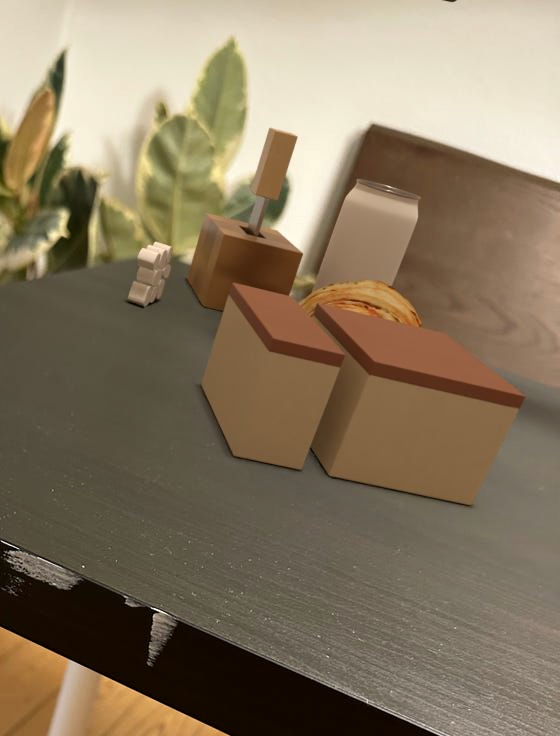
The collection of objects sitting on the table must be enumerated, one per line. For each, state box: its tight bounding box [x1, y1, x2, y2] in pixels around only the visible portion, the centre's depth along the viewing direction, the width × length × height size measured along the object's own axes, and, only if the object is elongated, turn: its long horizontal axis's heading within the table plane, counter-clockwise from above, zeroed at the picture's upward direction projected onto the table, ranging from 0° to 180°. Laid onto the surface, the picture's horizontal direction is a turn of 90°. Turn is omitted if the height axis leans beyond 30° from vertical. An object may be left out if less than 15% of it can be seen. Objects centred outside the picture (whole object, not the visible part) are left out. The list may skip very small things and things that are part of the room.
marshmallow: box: [127, 241, 174, 308], centre depth 78 cm, size 5×1×4 cm, turn 156°
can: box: [311, 178, 422, 293], centre depth 85 cm, size 6×6×12 cm
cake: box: [310, 303, 526, 506], centre depth 58 cm, size 9×12×7 cm
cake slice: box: [200, 283, 345, 471], centre depth 56 cm, size 4×12×7 cm, turn 2°
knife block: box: [186, 212, 304, 312], centre depth 86 cm, size 7×10×6 cm
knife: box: [246, 127, 298, 237], centre depth 84 cm, size 2×3×14 cm, turn 3°
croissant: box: [298, 279, 423, 328], centre depth 73 cm, size 21×10×8 cm, turn 163°
